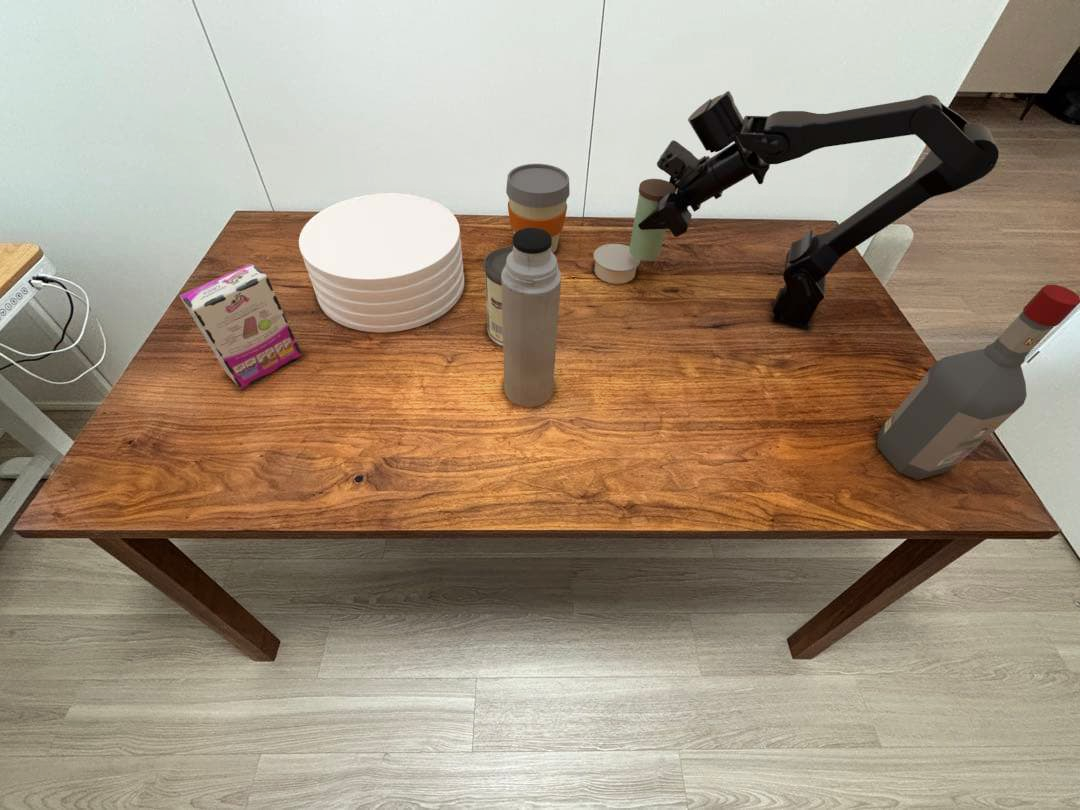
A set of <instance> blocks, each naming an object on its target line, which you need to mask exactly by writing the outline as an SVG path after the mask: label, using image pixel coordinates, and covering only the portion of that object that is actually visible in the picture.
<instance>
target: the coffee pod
mask: <svg viewBox="0 0 1080 810" xmlns="http://www.w3.org/2000/svg"><path fill="white" fill-rule="evenodd" d="M629 247H630V245H626V244H621V243H607V244H603V245H600V246H598V247H597V248H596V249H595V250H594V252H593V260H594V270H593V271H594V274H595V275H596V276H597V277H598V278H599V280H602V281H603V282H606V283H610V284H617V285H618V284H619V285H621V284H626V283H629V282H631V281H632V280H633V279H634V278H635V276H636V273H637V268H638V266H640V263H641V259H638V258H635V257H634V256H632V255H631V254H630V252H629Z"/></svg>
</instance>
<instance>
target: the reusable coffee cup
mask: <svg viewBox="0 0 1080 810" xmlns="http://www.w3.org/2000/svg"><path fill="white" fill-rule="evenodd" d="M570 191H571V190H570V177H569V174H568V173H567V172H566V171H565V170H563V169H561V168H560V167H557V166H554V165H550V164H545V163H526V164H522V165H519V166H516V167H514V168H513V169H511V170H510V171H509V172H508V174H507V179H506V189H505V192H506V196H507V197H508V202H507V210H508V218H509V224H510V228H511V230H512V231H513V235H514V234H515V233H516V232H517V231H519V230H521V229H525V228H539V229H542V230H545V231H546V232H548V233H549V234H550V235H551V237H552V245H551V252H552V253H553V254H554V253H555V252H556V251H557V249H558V245H559V240H560V234H561V232H562V231H563V229H564V225H565V222H566V221H565V220H566V215H567V210H568V204H567V201H568V198H569V197H570Z"/></svg>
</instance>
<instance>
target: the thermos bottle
mask: <svg viewBox="0 0 1080 810" xmlns="http://www.w3.org/2000/svg"><path fill="white" fill-rule="evenodd" d="M551 245H552V237H551V235H550V234H549V233H548V232H546V231H545V230H542V229H539V228H525V229H521V230H519V231H517V232H516V233H515V234H514V233H513V236H512V246H513V251H512V252H510V254H509V255H508V256H507V260H506V265H505V267H504V269H503V271H502V275H501V285H502V322H503V346H502V353H503V355H502V356H503V357H502V358H503V389H504V394H505V396H506V397H507V400H509V401H510V402H512V403H513V404H515V405H517V406H520V407H526V408H533V407H537V406H541V405H543V404H545V403H546V402H547V401H548V400H549V399H551V397H552V395H553V392H554V383H555V381H554V380H555V368H556V356H557V355H556V353H557V340H558V329H559V327H558V326H559V314H560V303H561V301H560V300H561V290H562V289H561V287H562V286H561V284H562V272H561V270H560V268H559V263H558V259H557V257H556V255H555V254H554V253H552V252H551Z"/></svg>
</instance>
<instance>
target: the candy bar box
mask: <svg viewBox="0 0 1080 810" xmlns="http://www.w3.org/2000/svg"><path fill="white" fill-rule="evenodd" d="M179 298H180V299H181V301H182V303H183V305H184V306H185V308H186V309H187V311H188V313H189V315H190V316H191V317H192V319H193V321H194V323H195V324H196V326H197V327H198V329H199V331H200V333H201V335H203V337H204V339H205V341H206V342H207V344H208V345H209V347H210V349H211V350H212V352H213V354H214V355H215V357H216V358H217V360H218V362H219V364H220V365H221V366H222V368H223V370H224V372H225V373H226V374H227V376H228V377H229V378H230V379H231V380H232V381H233V382H234V383H235V385H236V386H237V387H238V388H239V389H240V390H243V389H245V388H248V387H249V386H251V385H252V384H254V383H255V382H257V381H260V380H261V379H262V378H263V379H264V378H265V377H266V376H268V375H270V374H272V373H273V372H275V371H277V370H279V369H280V368H282V367H284V366H286V365H288V364H290V363H291V362H293V361H295V360H296V359H298V358H300V357H302V356H303V354H302V352H301V349H300V346H299V345H298V342H297V340H296V338H295V335H294V334H293V331H292V329H291V327H290V324H289V322H288V320H287V318H286V315H285V313H284V311H283V309H282V307H281V304H280V302H279V299H278V297H277V294H276V293H275V291H274V288H273V286H272V284H271V281H270V279H269V277H268V275H267V274H266V273H264V272H263V271H261V270H260V269H259V268H257V267H256V265H255V264H253V263H249V264H246V265H244V266H243V267H240V268H237V269H235V270H234V271H231V272H229V273H226V274H224V275H222V276H220V277H218V278H215V279H213V280H211V281H209V282H206V283H205V284H202V285H199V286H197V287H195V288H193V289H191V290H188V291H186V292H184V293H182V294H179Z"/></svg>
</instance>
